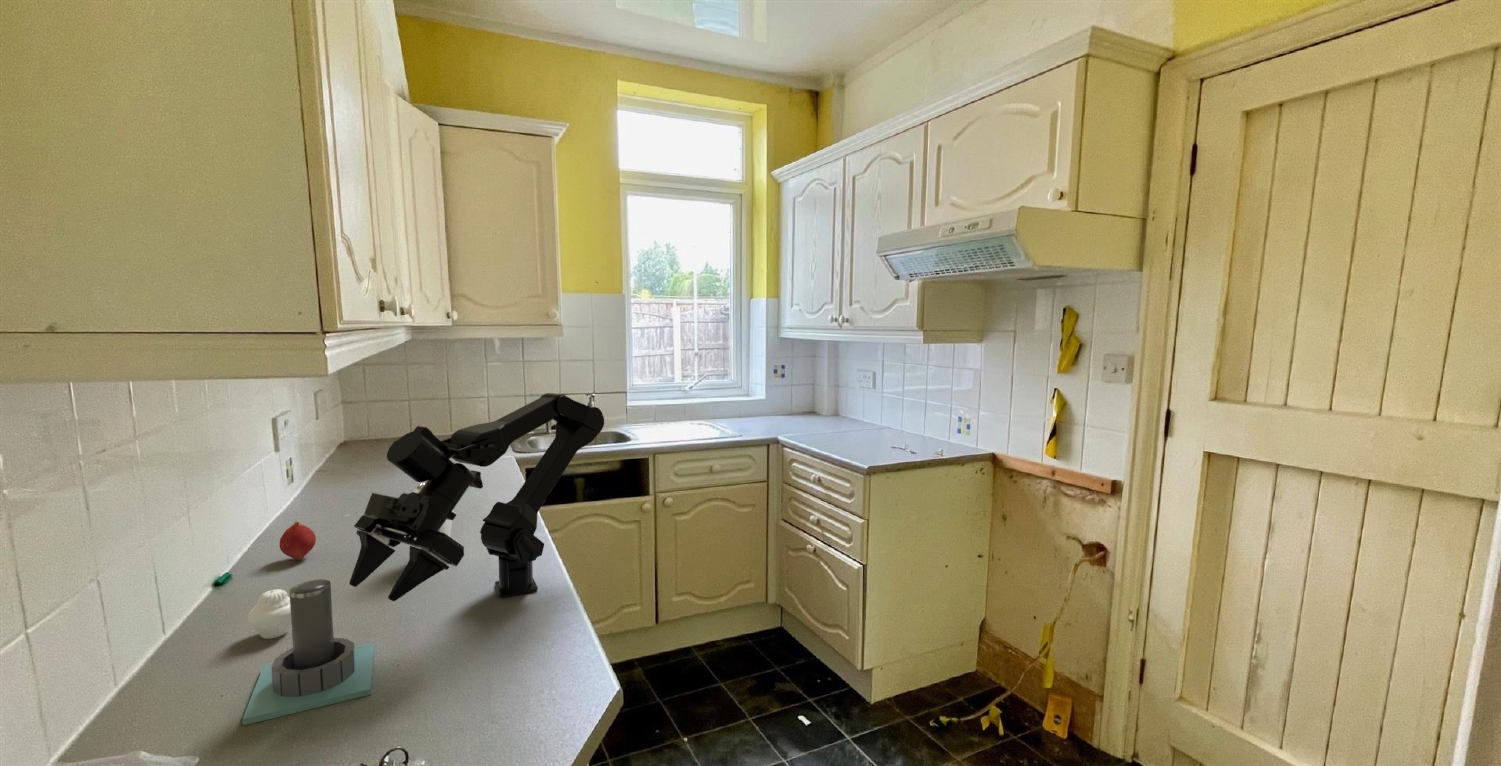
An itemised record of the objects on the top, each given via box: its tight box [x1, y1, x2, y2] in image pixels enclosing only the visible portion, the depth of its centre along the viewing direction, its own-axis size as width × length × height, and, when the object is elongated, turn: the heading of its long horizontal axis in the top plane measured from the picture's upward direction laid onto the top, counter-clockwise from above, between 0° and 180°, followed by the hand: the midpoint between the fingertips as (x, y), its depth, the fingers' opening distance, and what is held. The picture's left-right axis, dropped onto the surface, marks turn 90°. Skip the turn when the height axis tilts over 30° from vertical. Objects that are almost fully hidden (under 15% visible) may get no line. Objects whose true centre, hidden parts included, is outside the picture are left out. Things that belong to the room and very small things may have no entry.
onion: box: [279, 520, 317, 561], centre depth 122 cm, size 6×6×8 cm
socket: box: [242, 637, 376, 726], centre depth 82 cm, size 13×13×4 cm
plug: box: [289, 579, 335, 670], centre depth 81 cm, size 4×4×12 cm
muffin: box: [247, 588, 292, 640], centre depth 94 cm, size 6×6×7 cm
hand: (371, 592), depth 88 cm, fingers open, 9 cm apart
